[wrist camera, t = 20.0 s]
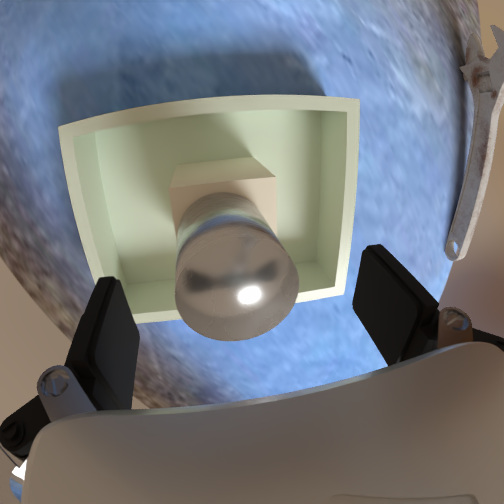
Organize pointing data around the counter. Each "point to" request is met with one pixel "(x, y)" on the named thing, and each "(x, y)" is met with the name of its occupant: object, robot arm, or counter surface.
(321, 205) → the crate
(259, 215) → the tea tin
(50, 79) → the counter surface
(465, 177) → the wrench
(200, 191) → the flour box
